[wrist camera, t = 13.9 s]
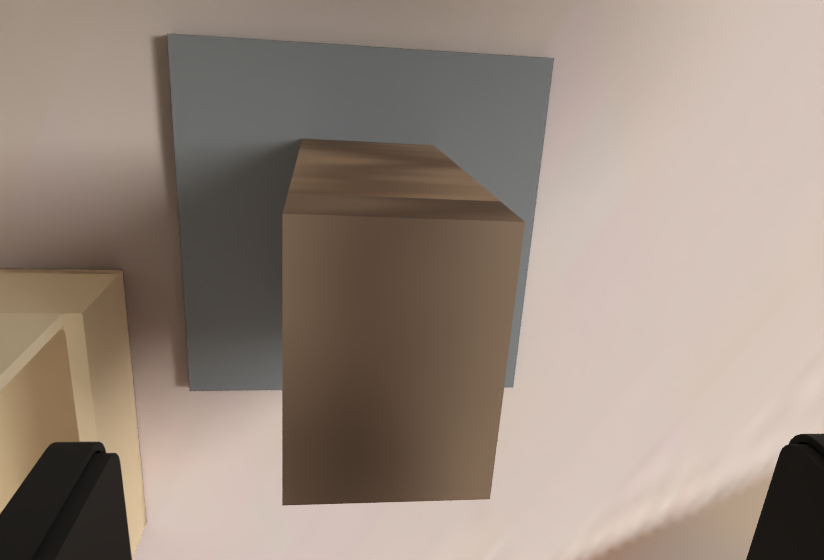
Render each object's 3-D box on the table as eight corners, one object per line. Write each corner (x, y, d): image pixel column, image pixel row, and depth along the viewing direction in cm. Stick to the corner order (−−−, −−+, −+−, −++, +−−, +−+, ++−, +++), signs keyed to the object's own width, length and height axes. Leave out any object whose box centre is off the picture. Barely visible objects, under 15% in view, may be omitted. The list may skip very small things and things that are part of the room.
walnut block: (433, 144, 25) (524, 221, 13) (420, 312, 27) (489, 498, 16) (302, 138, 24) (282, 214, 13) (300, 311, 26) (282, 505, 15)
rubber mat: (548, 58, 25) (553, 58, 24) (509, 380, 29) (512, 387, 29) (170, 34, 23) (167, 33, 22) (192, 384, 27) (189, 390, 27)
